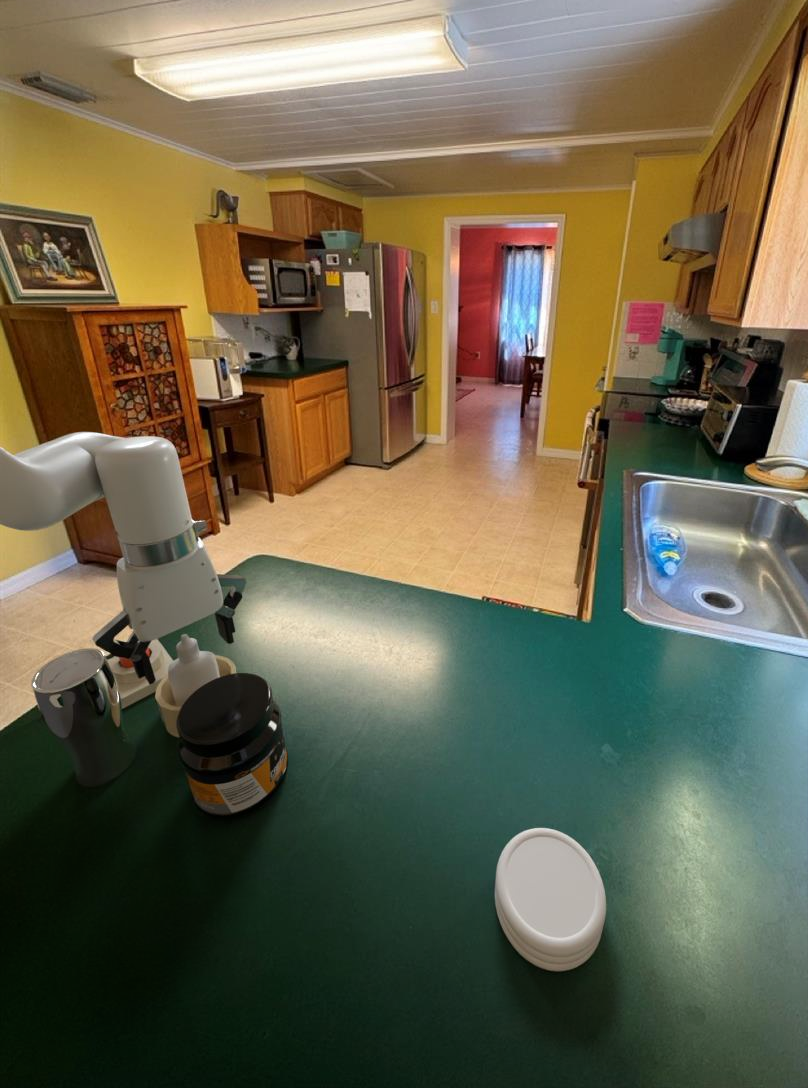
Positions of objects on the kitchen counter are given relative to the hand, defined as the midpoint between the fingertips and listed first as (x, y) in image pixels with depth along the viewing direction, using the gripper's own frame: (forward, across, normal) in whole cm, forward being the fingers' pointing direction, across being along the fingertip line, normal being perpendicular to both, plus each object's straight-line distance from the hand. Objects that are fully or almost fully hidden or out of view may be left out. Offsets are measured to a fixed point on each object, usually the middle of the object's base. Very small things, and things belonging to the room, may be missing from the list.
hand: (190, 657), depth 62 cm
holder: (+9, 0, 0) cm, 9 cm away
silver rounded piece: (+9, +11, 0) cm, 15 cm away
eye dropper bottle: (+9, 0, 0) cm, 9 cm away
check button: (+6, +4, -13) cm, 15 cm away
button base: (+9, +4, -13) cm, 16 cm away
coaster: (+9, -13, +47) cm, 50 cm away
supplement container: (+9, +1, +14) cm, 17 cm away
